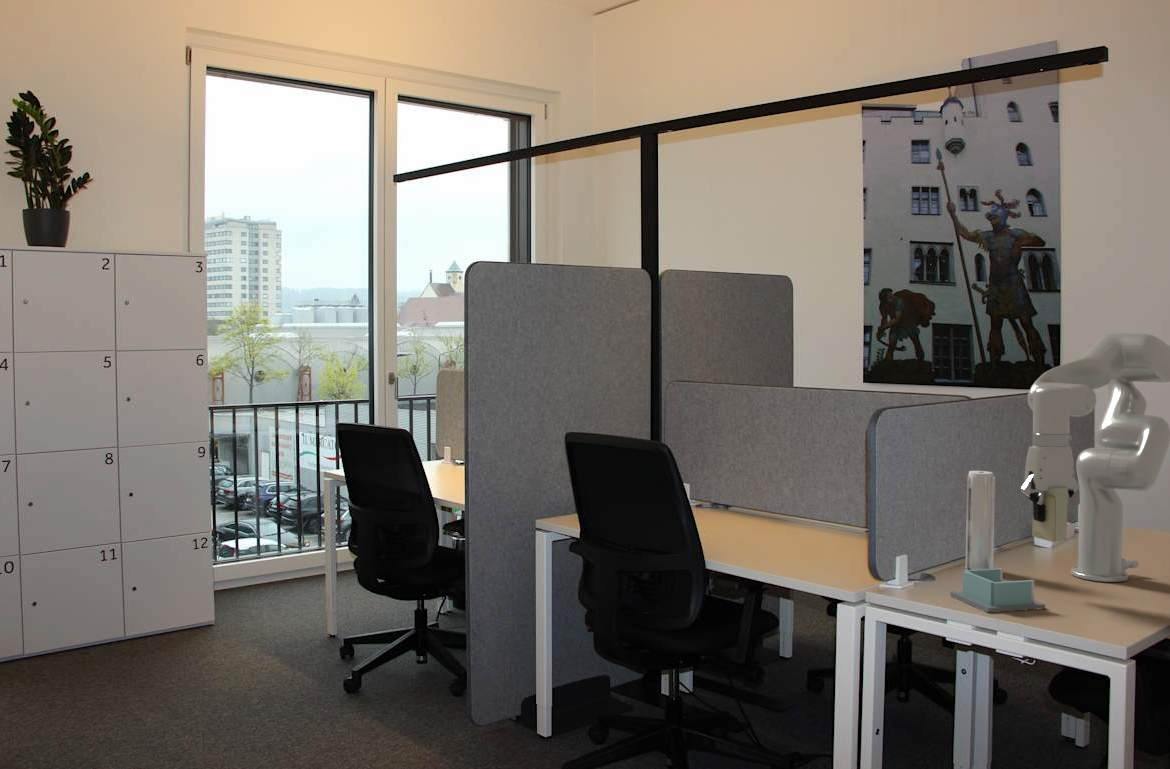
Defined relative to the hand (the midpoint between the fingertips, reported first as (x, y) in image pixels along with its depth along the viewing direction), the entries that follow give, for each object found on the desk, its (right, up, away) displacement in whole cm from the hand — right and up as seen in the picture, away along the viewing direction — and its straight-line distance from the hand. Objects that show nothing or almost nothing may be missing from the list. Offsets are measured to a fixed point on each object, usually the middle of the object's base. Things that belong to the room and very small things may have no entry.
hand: (1049, 519), depth 228 cm
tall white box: (-7, -16, +24) cm, 29 cm away
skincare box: (0, -5, 0) cm, 5 cm away
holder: (-15, -18, -6) cm, 24 cm away
